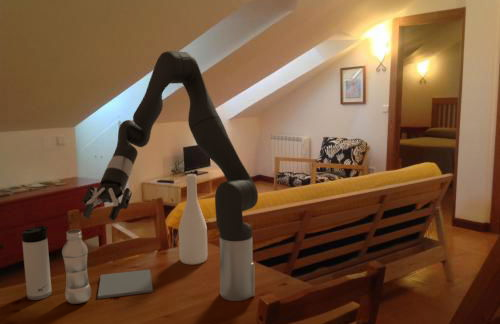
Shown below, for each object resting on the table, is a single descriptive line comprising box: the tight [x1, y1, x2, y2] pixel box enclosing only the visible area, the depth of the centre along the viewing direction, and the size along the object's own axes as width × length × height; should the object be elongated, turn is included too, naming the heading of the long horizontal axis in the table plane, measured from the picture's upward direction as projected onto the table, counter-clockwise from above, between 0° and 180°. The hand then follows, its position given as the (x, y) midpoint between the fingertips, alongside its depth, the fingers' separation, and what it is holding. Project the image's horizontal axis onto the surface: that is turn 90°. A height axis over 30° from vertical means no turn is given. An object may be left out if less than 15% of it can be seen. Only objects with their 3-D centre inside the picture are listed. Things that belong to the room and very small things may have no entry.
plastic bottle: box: [61, 229, 92, 305], centre depth 117 cm, size 6×7×20 cm
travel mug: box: [21, 225, 52, 301], centre depth 120 cm, size 6×7×20 cm
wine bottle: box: [178, 173, 208, 266], centre depth 145 cm, size 10×10×30 cm
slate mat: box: [97, 269, 153, 300], centre depth 129 cm, size 15×15×1 cm
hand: (98, 218), depth 126 cm, fingers open, 8 cm apart
